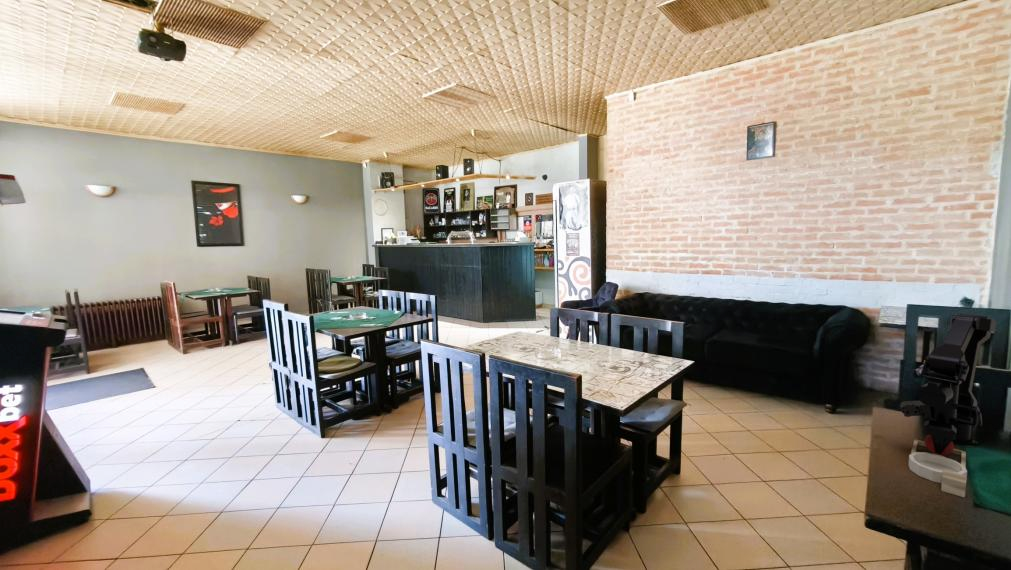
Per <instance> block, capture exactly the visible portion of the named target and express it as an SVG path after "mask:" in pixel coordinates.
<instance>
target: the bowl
mask: <svg viewBox="0 0 1011 570" xmlns="http://www.w3.org/2000/svg"><path fill="white" fill-rule="evenodd" d="M908 468H909V470H910V471H911V472H913V473H914V474H915V475H917V476H918V477H921V478H924V479H926V480H928V481H930V482H934V483H938V484H941V482H942V470H945V471H949V472H953V473H957V474H961V475H965V476H966V481H967V480H968V479H967V478H968V477H967V476H968V470H967V468H965V466H963V465H962V464H961V462H958V461H957V460H955V459H952V458H949V457H946V456H941V455H937V454H933V453H932V452H926V451H924V452H923V451H922V452H921V451H916V452H914V453H912V454H911V453H910V454H909V455H908Z"/></svg>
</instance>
